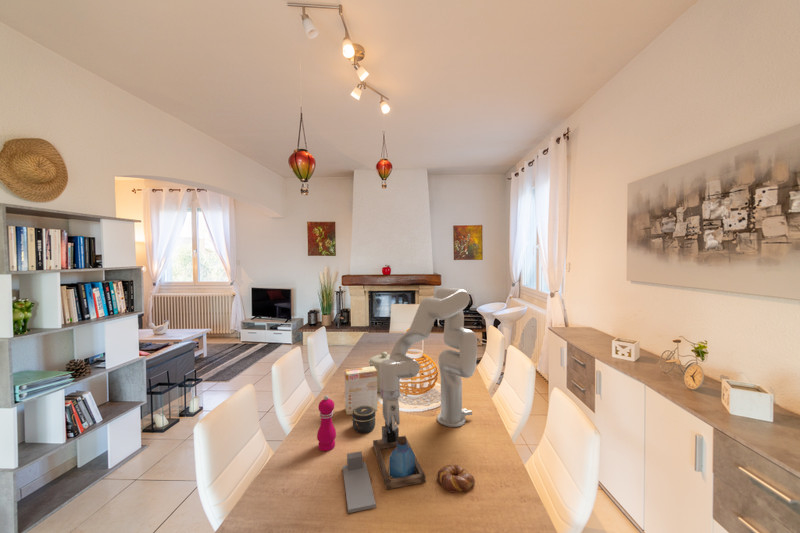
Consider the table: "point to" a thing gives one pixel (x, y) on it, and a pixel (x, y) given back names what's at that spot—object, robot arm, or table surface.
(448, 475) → the pretzel
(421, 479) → the rectangular wooden frame
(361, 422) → the jar
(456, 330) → the robot arm
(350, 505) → the grey l-shaped piece
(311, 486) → the table surface
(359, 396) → the coffeecake box
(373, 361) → the canister
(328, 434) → the pepper mill
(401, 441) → the perfume bottle
